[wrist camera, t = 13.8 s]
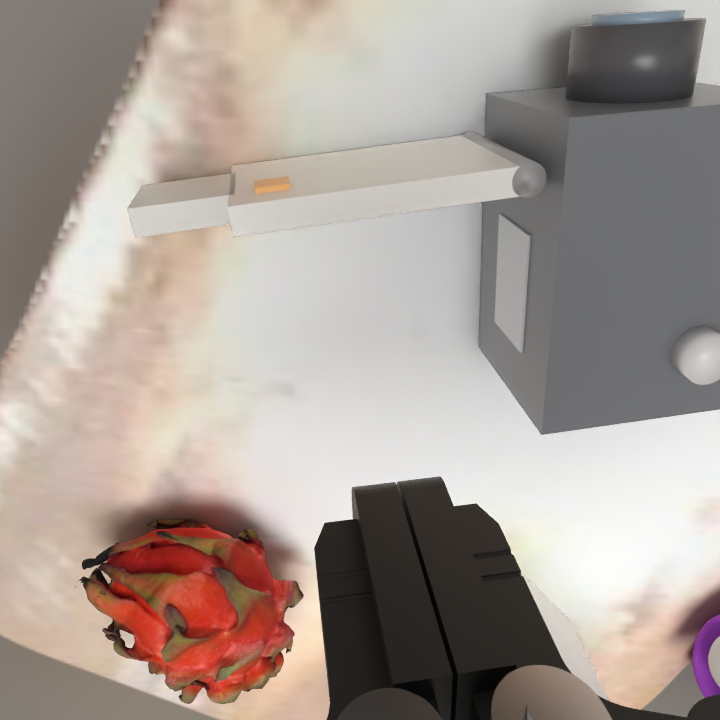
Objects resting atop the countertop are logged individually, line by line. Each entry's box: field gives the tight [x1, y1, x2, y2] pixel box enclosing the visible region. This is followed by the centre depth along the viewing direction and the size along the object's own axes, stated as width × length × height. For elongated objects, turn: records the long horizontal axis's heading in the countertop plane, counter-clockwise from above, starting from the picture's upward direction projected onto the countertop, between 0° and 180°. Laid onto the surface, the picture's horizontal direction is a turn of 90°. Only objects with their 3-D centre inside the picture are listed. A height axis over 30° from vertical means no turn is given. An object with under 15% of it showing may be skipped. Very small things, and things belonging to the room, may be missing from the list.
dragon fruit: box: [76, 519, 304, 704], centre depth 33 cm, size 8×8×12 cm
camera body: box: [479, 10, 720, 435], centre depth 26 cm, size 15×8×9 cm, turn 3°
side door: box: [127, 132, 546, 238], centre depth 24 cm, size 14×1×7 cm, turn 96°
